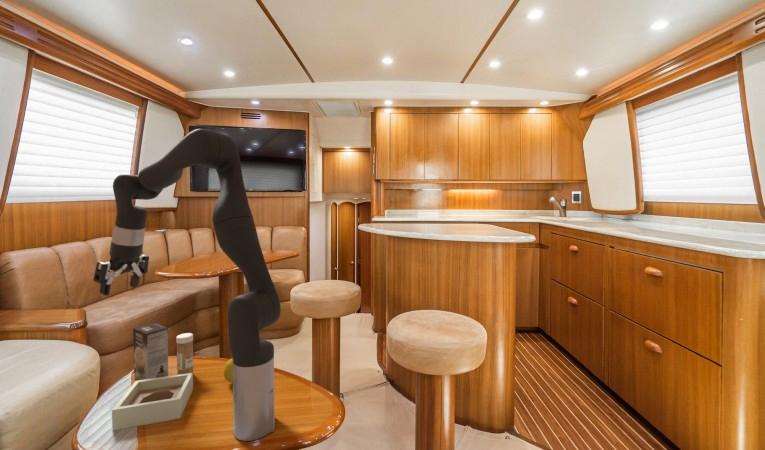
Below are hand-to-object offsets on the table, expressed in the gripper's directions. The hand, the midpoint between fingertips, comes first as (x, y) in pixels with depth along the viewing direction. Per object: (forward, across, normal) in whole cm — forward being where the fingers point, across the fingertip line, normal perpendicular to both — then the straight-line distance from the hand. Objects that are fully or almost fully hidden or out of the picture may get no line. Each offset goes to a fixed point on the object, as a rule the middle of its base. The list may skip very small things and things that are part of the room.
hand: (119, 290), depth 97 cm
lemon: (+18, +5, -41) cm, 45 cm away
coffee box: (+26, +2, -15) cm, 30 cm away
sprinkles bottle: (+23, +5, -24) cm, 34 cm away
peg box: (+20, -10, -30) cm, 37 cm away
